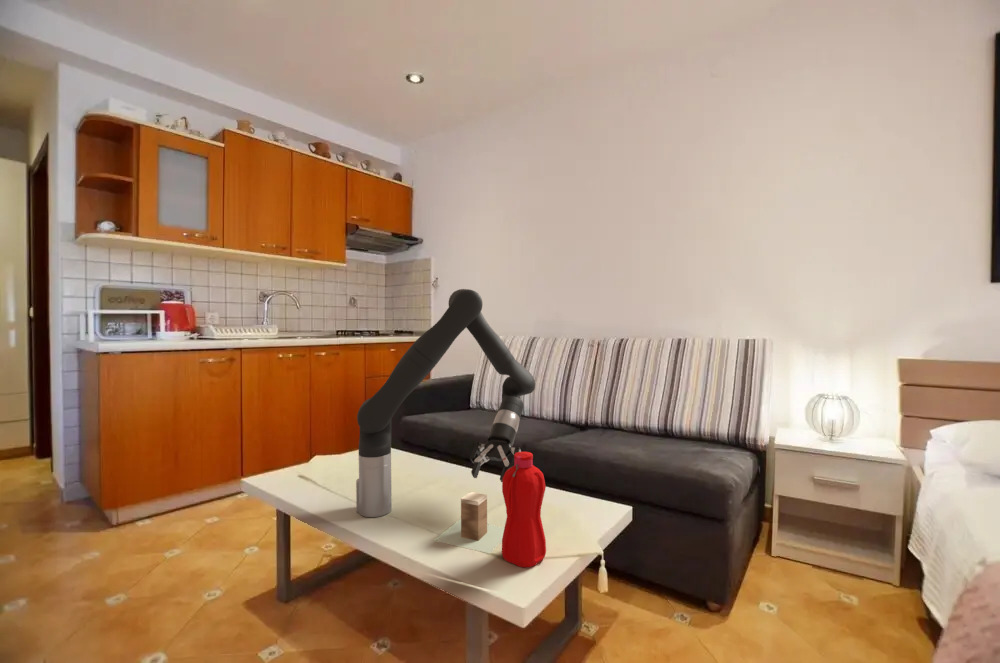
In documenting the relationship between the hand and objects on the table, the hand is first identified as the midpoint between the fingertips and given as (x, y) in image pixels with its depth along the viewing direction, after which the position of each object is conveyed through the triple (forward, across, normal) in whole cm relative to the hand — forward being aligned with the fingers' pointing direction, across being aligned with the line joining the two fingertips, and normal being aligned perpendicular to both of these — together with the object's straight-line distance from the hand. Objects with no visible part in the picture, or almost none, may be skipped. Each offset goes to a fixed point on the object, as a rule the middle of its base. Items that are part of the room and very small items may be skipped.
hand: (487, 479), depth 126 cm
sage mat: (+15, 0, +3) cm, 15 cm away
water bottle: (+19, +16, -1) cm, 25 cm away
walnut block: (+14, 0, +3) cm, 15 cm away
